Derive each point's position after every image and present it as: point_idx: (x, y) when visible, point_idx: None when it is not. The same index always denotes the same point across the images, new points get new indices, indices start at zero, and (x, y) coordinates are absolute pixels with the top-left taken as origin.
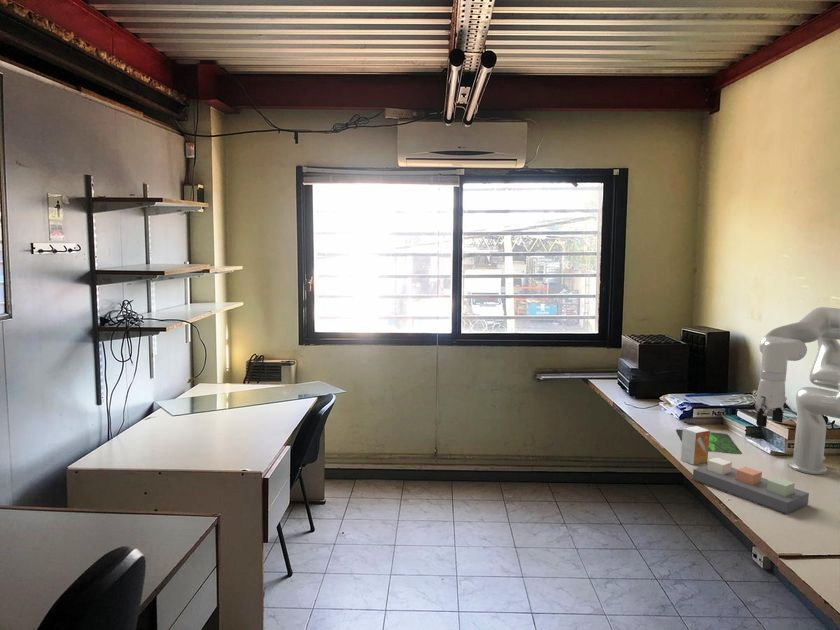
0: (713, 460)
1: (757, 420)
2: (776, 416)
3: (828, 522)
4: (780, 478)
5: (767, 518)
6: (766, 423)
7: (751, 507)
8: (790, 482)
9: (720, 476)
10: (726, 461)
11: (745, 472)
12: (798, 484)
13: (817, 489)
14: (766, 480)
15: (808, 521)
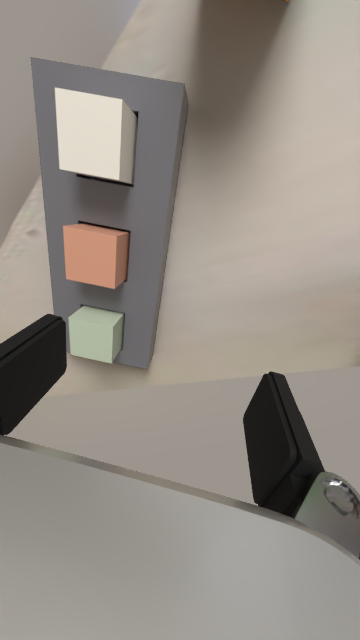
0: (73, 109)
1: (25, 335)
2: (263, 426)
3: (105, 386)
4: (110, 335)
5: (25, 318)
6: (46, 387)
7: (42, 283)
8: (104, 357)
9: (60, 177)
10: (109, 159)
11: (66, 255)
12: (266, 319)
13: (261, 353)
14: (146, 287)
15: (80, 366)
